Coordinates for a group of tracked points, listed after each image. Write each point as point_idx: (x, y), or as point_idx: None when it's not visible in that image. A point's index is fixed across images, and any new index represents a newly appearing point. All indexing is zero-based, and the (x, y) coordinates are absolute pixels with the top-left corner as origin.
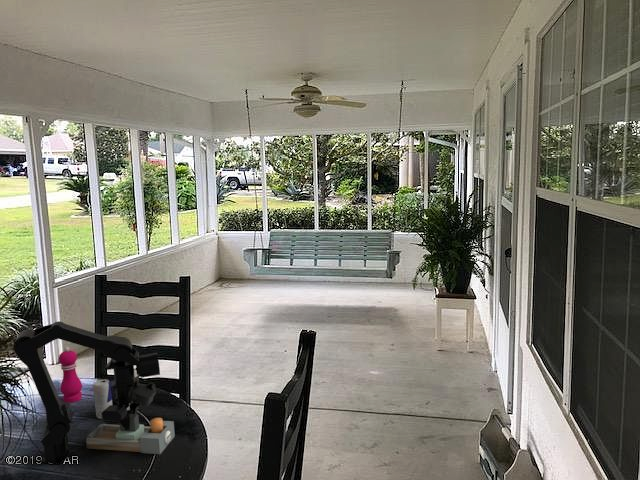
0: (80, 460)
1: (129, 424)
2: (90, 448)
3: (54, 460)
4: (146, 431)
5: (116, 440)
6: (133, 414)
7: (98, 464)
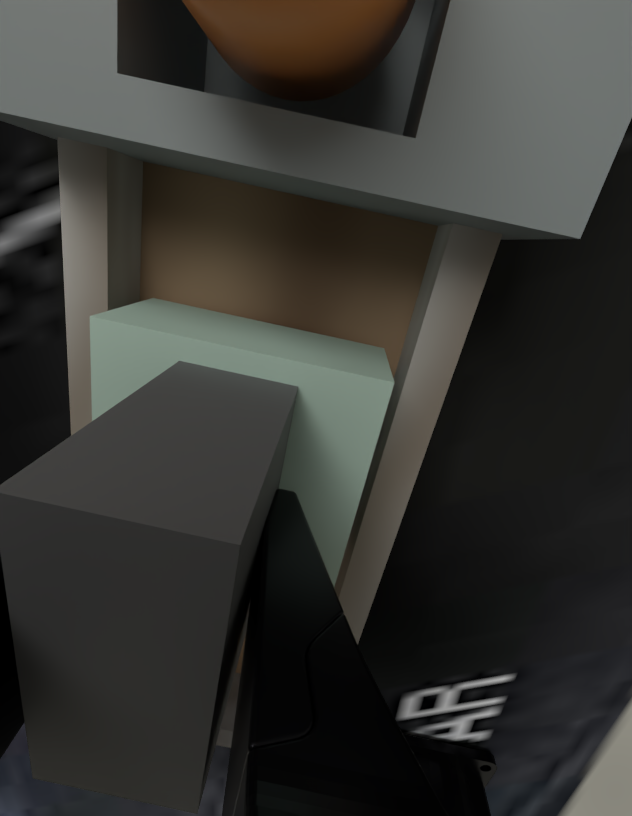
0: (474, 672)
1: (270, 531)
2: None
3: (486, 799)
4: (363, 165)
5: (379, 547)
6: (46, 597)
7: (570, 563)
